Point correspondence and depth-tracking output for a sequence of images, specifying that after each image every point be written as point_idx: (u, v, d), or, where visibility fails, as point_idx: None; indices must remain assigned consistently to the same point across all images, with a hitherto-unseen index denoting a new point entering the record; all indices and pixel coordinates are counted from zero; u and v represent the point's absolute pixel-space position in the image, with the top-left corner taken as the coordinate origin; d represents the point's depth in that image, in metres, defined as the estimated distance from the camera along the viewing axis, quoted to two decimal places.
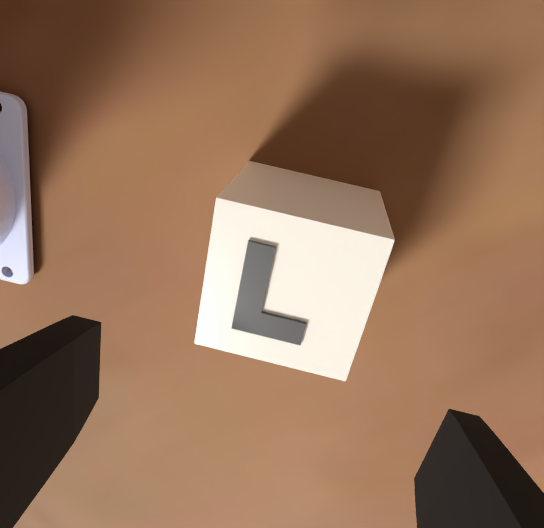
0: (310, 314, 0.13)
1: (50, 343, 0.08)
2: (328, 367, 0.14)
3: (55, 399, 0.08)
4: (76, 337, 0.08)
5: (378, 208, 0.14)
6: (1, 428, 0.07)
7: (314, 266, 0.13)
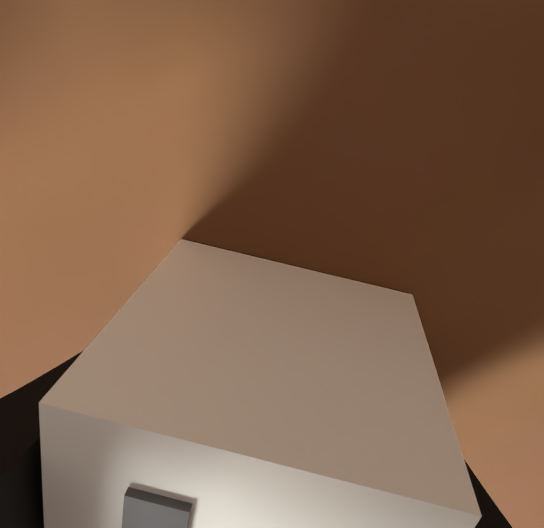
0: None
1: None
2: None
3: None
4: None
5: (419, 361, 0.07)
6: None
7: None
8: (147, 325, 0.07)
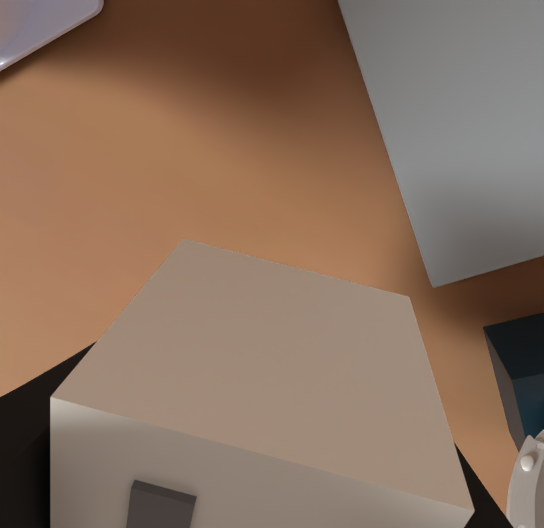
0: None
1: None
2: None
3: None
4: None
5: (416, 361, 0.07)
6: None
7: None
8: (153, 323, 0.07)
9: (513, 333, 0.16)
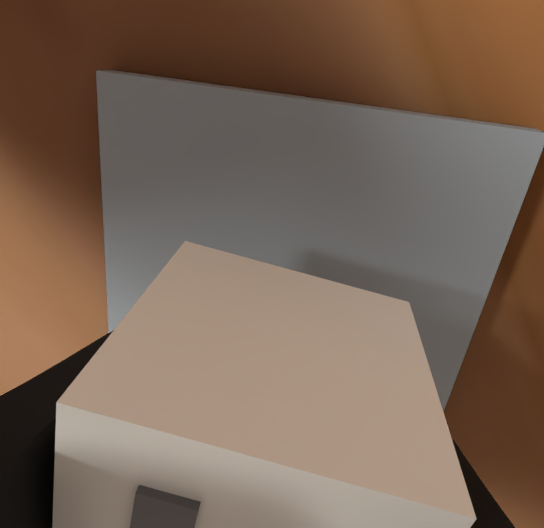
0: None
1: None
2: None
3: None
4: None
5: (417, 368, 0.07)
6: None
7: None
8: (156, 327, 0.07)
9: None
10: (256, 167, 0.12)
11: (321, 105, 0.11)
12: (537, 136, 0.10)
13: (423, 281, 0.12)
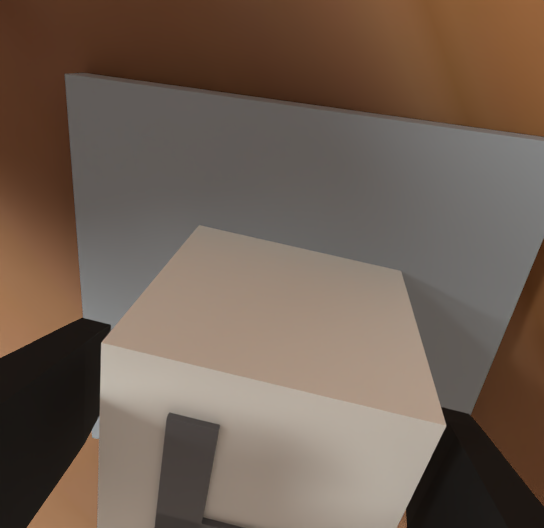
0: (288, 527, 0.08)
1: (62, 346, 0.08)
2: None
3: (66, 402, 0.08)
4: (87, 340, 0.08)
5: (404, 320, 0.09)
6: (14, 431, 0.06)
7: (292, 459, 0.07)
8: (178, 290, 0.08)
9: None
10: (247, 183, 0.10)
11: (320, 113, 0.09)
12: None
13: (435, 310, 0.11)
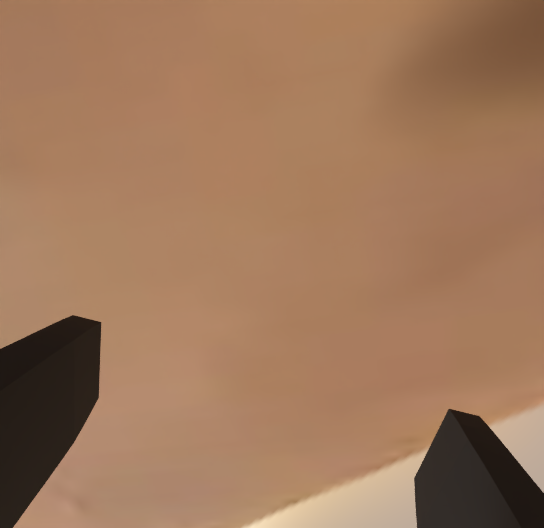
0: None
1: (50, 343, 0.08)
2: None
3: (55, 399, 0.08)
4: (76, 337, 0.08)
5: None
6: (1, 428, 0.07)
7: None
8: None
9: None
10: None
11: None
12: None
13: None
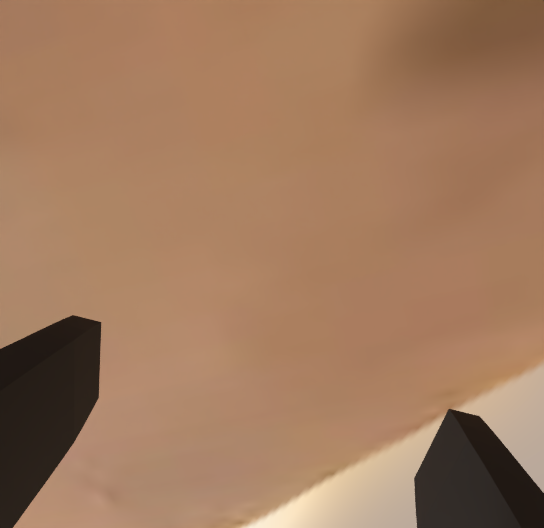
0: None
1: (50, 343, 0.08)
2: None
3: (55, 399, 0.08)
4: (76, 337, 0.08)
5: None
6: (1, 428, 0.07)
7: None
8: None
9: None
10: None
11: None
12: None
13: None
